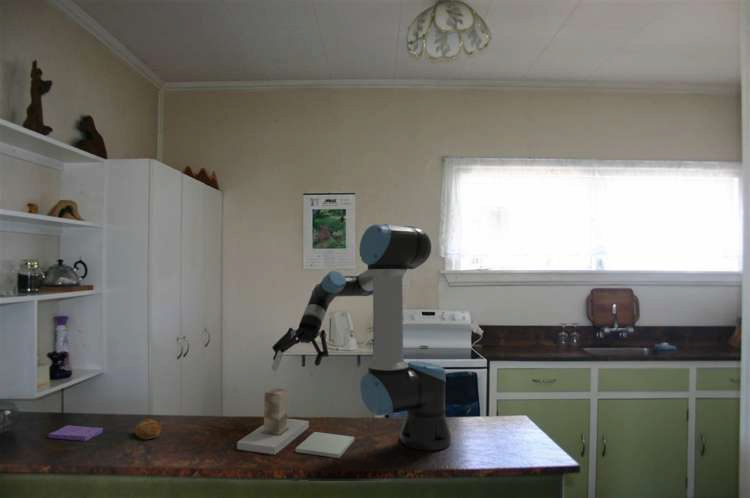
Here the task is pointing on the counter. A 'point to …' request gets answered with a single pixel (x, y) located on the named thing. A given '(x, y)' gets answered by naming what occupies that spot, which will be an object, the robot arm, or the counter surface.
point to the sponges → (76, 433)
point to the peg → (275, 412)
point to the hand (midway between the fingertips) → (292, 371)
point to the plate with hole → (272, 438)
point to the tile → (325, 444)
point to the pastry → (147, 429)
